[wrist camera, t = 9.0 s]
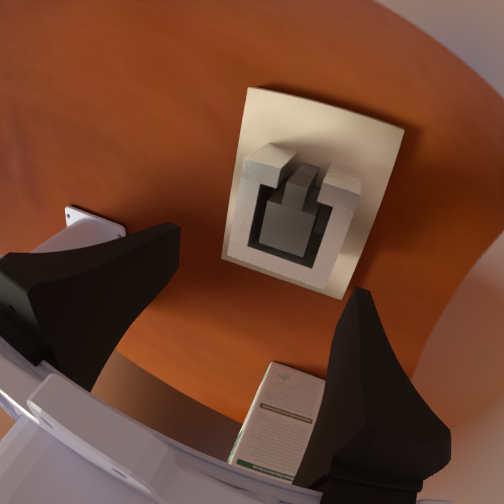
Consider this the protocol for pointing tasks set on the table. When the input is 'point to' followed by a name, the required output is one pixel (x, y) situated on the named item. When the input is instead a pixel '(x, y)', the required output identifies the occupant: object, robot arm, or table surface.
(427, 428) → the robot arm
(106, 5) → the table surface
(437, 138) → the table surface
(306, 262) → the grey slotted channel block
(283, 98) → the keyed post base
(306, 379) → the syrup box
